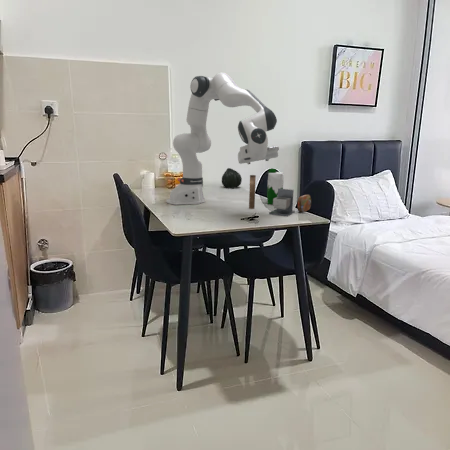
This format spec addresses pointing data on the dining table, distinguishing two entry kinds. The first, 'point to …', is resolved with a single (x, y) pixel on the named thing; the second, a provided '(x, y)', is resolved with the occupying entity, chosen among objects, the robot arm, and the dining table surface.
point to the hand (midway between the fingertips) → (257, 161)
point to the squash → (231, 178)
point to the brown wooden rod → (252, 192)
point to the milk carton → (274, 184)
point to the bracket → (283, 203)
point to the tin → (304, 203)
